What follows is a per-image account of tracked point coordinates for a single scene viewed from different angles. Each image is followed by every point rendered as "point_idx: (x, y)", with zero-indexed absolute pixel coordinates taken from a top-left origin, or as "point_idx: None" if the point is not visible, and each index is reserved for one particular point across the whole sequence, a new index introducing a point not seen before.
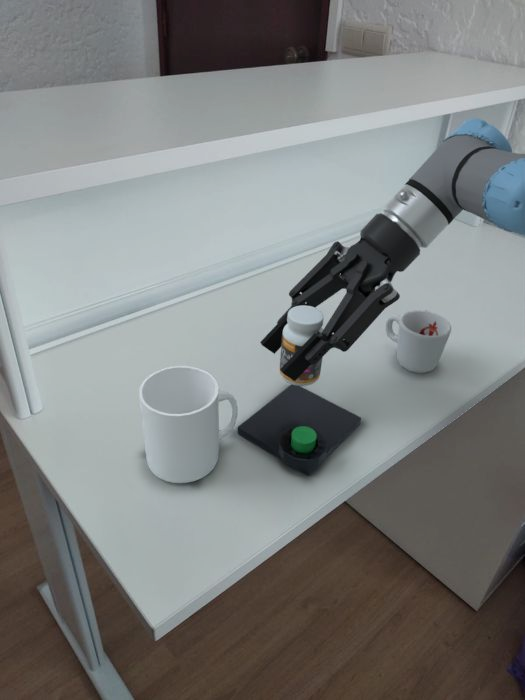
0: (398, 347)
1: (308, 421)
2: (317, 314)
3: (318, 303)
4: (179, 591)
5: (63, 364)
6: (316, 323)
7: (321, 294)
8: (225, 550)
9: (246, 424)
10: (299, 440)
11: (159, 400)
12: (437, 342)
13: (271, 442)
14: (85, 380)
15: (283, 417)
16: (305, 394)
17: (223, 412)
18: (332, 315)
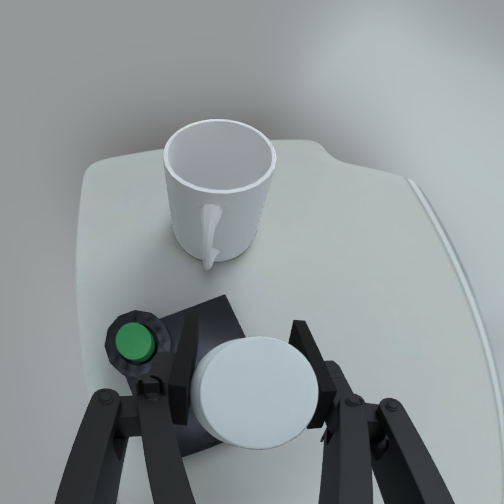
0: None
1: None
2: (245, 428)
3: (323, 466)
4: (91, 181)
5: (390, 187)
6: (199, 399)
7: (330, 478)
8: (94, 219)
9: (224, 306)
10: (126, 327)
11: (259, 178)
12: None
13: (176, 320)
14: (366, 193)
15: None
16: None
17: (271, 300)
18: (177, 447)
